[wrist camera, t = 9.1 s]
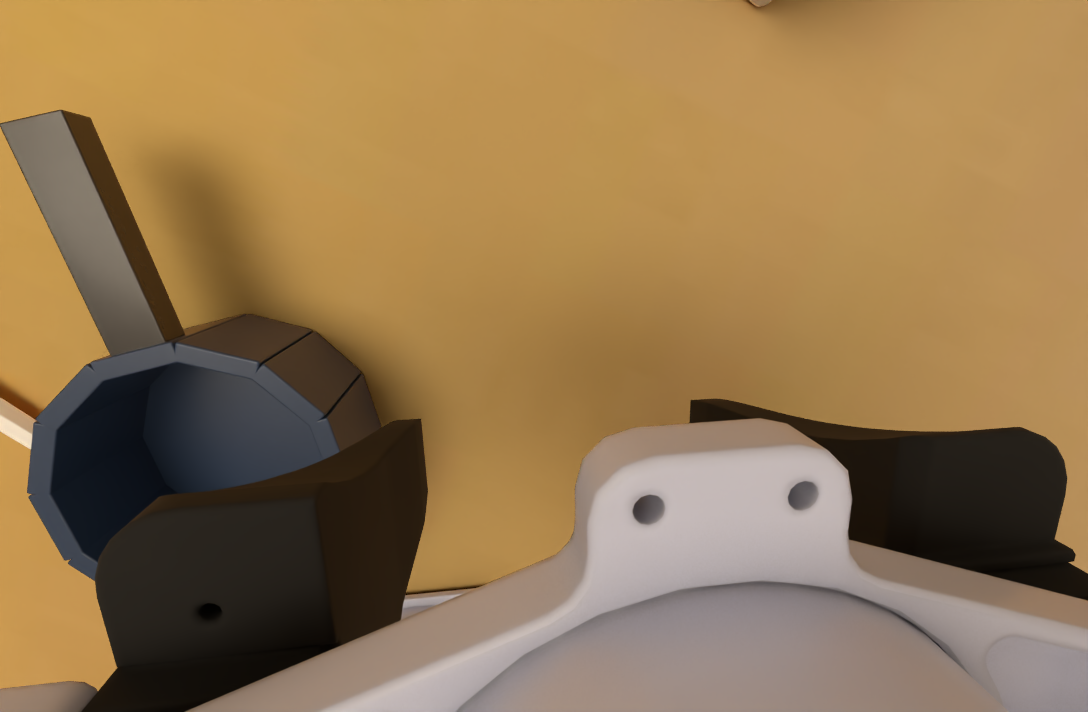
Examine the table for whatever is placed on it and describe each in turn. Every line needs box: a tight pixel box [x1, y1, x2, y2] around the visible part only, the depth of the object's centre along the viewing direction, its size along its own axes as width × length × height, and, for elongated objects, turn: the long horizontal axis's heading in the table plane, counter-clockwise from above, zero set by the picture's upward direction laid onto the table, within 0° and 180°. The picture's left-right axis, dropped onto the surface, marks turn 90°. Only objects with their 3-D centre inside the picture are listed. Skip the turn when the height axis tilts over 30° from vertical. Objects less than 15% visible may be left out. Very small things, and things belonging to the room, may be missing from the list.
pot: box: [0, 110, 381, 581], centre depth 20 cm, size 17×10×6 cm, turn 13°
